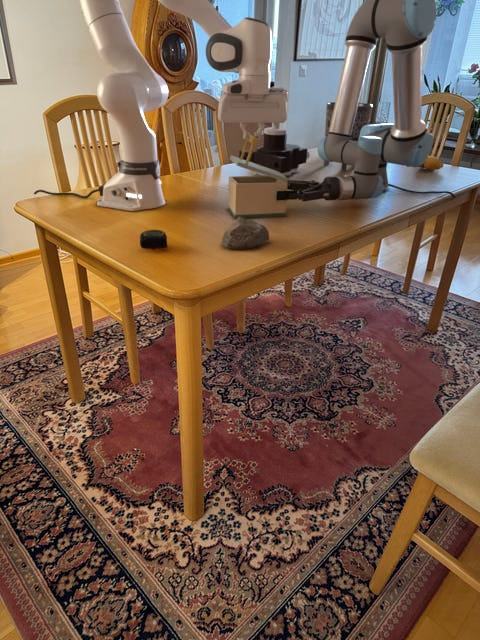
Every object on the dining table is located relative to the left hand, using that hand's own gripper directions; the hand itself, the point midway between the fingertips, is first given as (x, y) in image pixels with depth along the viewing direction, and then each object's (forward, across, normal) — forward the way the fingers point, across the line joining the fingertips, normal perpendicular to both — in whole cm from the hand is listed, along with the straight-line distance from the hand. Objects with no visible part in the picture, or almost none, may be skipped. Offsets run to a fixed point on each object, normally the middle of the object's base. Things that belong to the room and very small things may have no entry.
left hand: (251, 139), depth 135 cm
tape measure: (+23, +32, +26) cm, 47 cm away
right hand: (+16, -7, 0) cm, 17 cm away
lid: (+9, -3, 0) cm, 9 cm away
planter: (+22, -60, -62) cm, 89 cm away
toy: (+22, -99, -51) cm, 113 cm away
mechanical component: (+22, -28, -53) cm, 64 cm away
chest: (+22, -3, 0) cm, 22 cm away
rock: (+22, +7, +28) cm, 36 cm away
